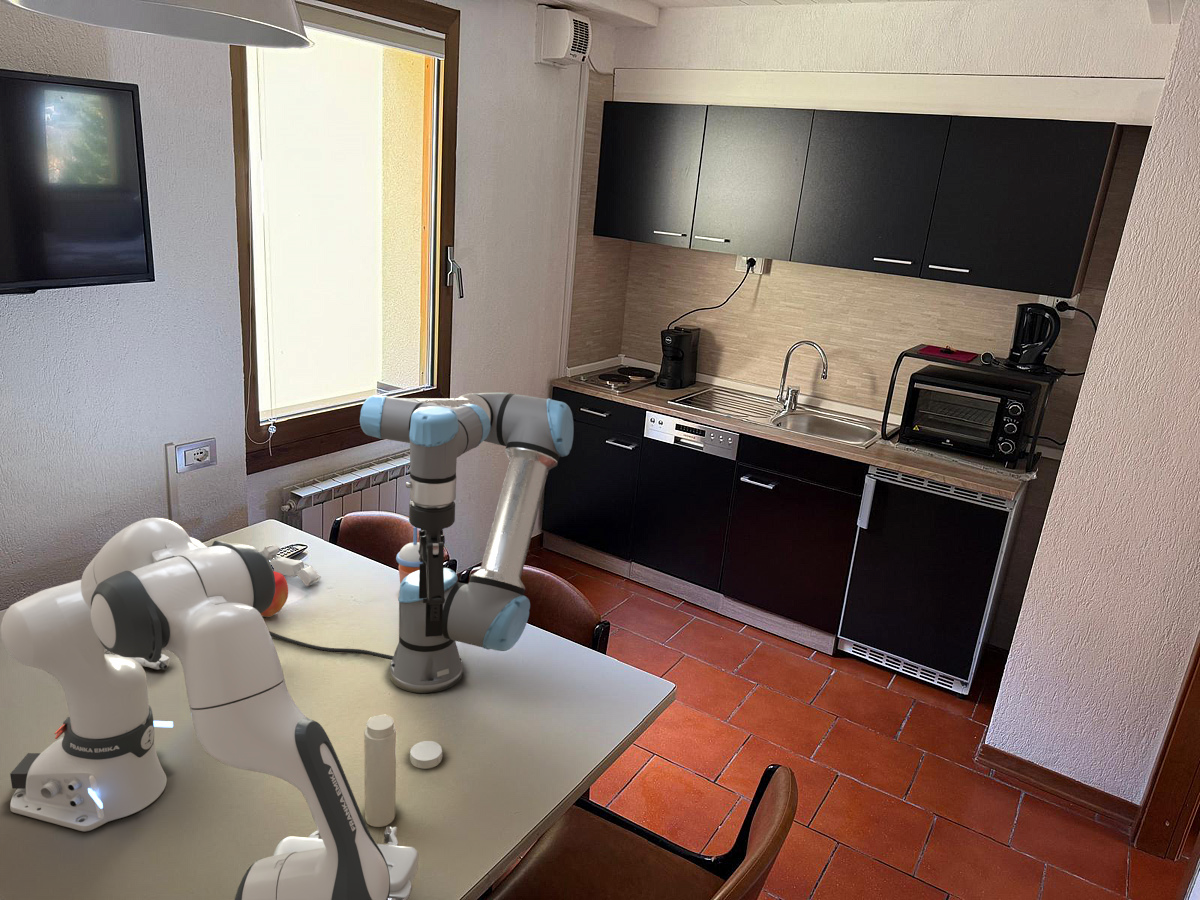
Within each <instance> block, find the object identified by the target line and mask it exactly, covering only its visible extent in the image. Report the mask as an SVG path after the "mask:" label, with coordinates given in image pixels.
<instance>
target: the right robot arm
mask: <svg viewBox="0 0 1200 900" xmlns="http://www.w3.org/2000/svg"><path fill="white" fill-rule="evenodd" d="M359 424H360V428H361V430H362V432H363V433H364V434H365V435H367V436H369V437H373V438H378V439H379V440H382V439H383V440H388V441H395V442H401V443H406V444H407V443H408V444H409V481H407V482H406V483H405V487H406V488H407V489H409V500H410V501H409V503H408V504H409V505H408V521H409V523H410V525H411V526H413V528H414V527H416V528H417V529H418V539H419V543H420V544H419V550H418V553H419V555H420V558H419V560H420V562H423V564H420V566H419V570H418V571H415V572H413V573H410V574H409V575H407V576H406V577H405V578H404V579H403V580H402V582H401V584H400V583H399V584H400V585H399V594H398V598H397V600H398V643H397V645H396V648H395V651H394V653H393V655H390V654H385V653H382V652H381V653H380V652H377V651H372V650H366V649H360V648H339V647H336V648H335V647H327V646H320V645H315V644H310V643H307V642H302V641H299V640H296V639H292V638H289V637H287V636H283V635H280V634H278V633H275V632H272V631H270V630H269V633H270V635H271V637H272V638H274V639H276V640H279V641H283V642H286V643H289V644H292V645H296V646H298V647H302V648H306V649H309V650H314V651H319V652H327V653H337V654H338V653H339V654H359V655H366V656H372V657H376V658H380V659H385V660H388V661H389V660H390V664H389V679H390V681H391V682H392V683H393V684H394V685H395V686H396V687H398V688H399V689H401V690H404V691H407V692H410V693H416V694H430V693H431V694H432V693H438V692H441V691H445V690H447V689H450V688H451V687H453V686H455V685H456V684H457V683H458V682H459V681H460V680H461V679H462V676H463V672H464V662H463V660H462V657H461V656H460V653H459V649H458V646H457V642H459V643H463V644H466V645H470V646H475V647H479V648H482V649H485V650H494V651H499V652H505V651H508V650H510V649H512V648H513V647H514V646H515V645H516V644H517V643H518V642H519V640H520V638H521V637H522V635H523V634H524V631H525V629H526V626H527V624H528V620H529V617H530V610H531V602H530V599H529V598H528V597H527V596H526V595H525V594H526V593H525V592H526V587H525V584H524V583H523V581H522V575H523V571H524V567H525V564H526V559H527V556H528V552H529V547H530V544H531V541H532V536H533V532H534V528H535V525H536V521H537V518H538V512H539V510H540V505H541V501H542V498H543V494H544V489H545V486H546V482H547V479H548V474H549V471H550V470H552V469H554V468H555V467H558V463H559V460H560V458H564V457H567V456H568V455H569V454H570V452H571V450H572V448H573V442H574V418H573V412H572V410H571V407H570V406H569V405H568V404H567V403H566V402H564V401H559V400H555V399H552V398H549V397H547V398H543V397H537V396H529V395H523V394H518V393H517V394H516V393H512V392H502V391H501V392H500V391H499V392H497V391H494V392H480V393H478V392H477V393H465V394H462V395H460V396H458V397H457V398H438V397H437V398H431V397H430V398H429V397H427V398H426V397H425V398H424V397H423V398H418V397H414V398H413V397H411V398H407V397H392V396H388V395H376V394H373V395H370V396H368V397H367V398H366V399H365V401H364V402H363V404H362V406H361V409H360V415H359ZM483 442H485V443H490V444H493V445H498V446H502V447H505V449H504V453H505V455H506V456H507V458H508V460H509V462H508V465H507V470H506V473H505V477H504V480H503V484H502V488H501V492H500V494H499V499H498V502H497V506H496V510H495V513H494V517H493V520H492V524H491V527H490V533H489V534H488V535H489V536H488V539H487V543H486V547H485V550H484V554H483V558H482V561H481V565H480V567H479V569H478V570H476V571H475V572H473V573H472V574H470V577H469V580H468V583H464V582H459V581H458V580H459V579H458V578H459V577H458V575H457V573H456V571H454V570H453V569H451V568H448V567H445V566H444V559H445V543H446V538H445V535H444V529H448V528H450V527H451V526H453V524H454V523H455V521H456V502H455V500H456V498H457V461H458V460H457V459H458V457H461V456H462V455H463V454H466V453H467V452H469V451H471V450H472V449H476V448H478V447H479V446H480V445H481V444H482V443H483Z"/></svg>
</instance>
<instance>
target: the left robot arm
mask: <svg viewBox="0 0 1200 900" xmlns="http://www.w3.org/2000/svg"><path fill="white" fill-rule="evenodd" d="M190 537H191V536H189V534H188V532H187V531H186V530H185V529H184V528H183V526H181V525H180V524H178V523H176V522H174V521H173V520H170V519H167V518H163V517H149V518H143V519H140V520H138V521H136V522H133V523H131V524H128V526H126V527H124V528H122V529H121V530H119V531H118V532H117V533H115V535H113V536H112V537H111V538H110V539H109V540H107V542H106V543H104V545H103V546H102V547H101V548H100V550H99V551H98V553H96V555H95V556H94V557H93V558H92V559H91V561H90V562H89V564H87V566H86V568H85V569H84V570H83V573H82V576H81V578H80V579H78V580H74V581H70V582H67V583H64V584H60V585H57V586H52V587H49V588H46V589H42V590H40V591H37V592H35V593H33V594H31V595H28V596H27V597H25V598H23V599H21V600H18V601H16V602H15V603H12V604H10V606H9V607H8V608H7V609H6V611H5V613H4V615H3V617H2V620H1V623H0V640H1V643H2V646H3V647H4V649H5V651H6V652H7V653H8V654H9V656H10V657H11V658H12V659H14V660H15V661H16V662H18V663H20V664H22V665H24V666H27V667H31V668H36V669H39V670H42V671H44V672H46V673H48V674H50V675H51V676H52V677H54V678H55V680H57V681H58V682H59V684H60V686H61V687H62V690H63V692H64V696H65V700H66V704H67V708H68V717H67V718H66V719H64V721H63V722H62V725H61V726H60V727H59V728H58V729H57V730H56V731H55V732H54V735H55V738H54V739H55V741H54V742H52V743H51V744H50V745H48V746H47V747H46V748H45V749H43V751H41V752H28V753H27V754H26V755H25V756H24V757H23V759H22V760H20V762H18V764H17V765H16V766H15V767H14V769H13V770H12V771H11V772H10V773H9V775H10V776H9V777H10V782H11V783H10V784H11V789H13V790H15V789H16V790H15V791H14V793H13V795H12V797H11V799H10V805H9V806H10V807H9V808H10V809H9V810H10V812H11V813H14V814H18V815H21V816H25V817H29V818H32V819H36V820H39V821H43V822H47V823H50V824H54V825H57V826H61V827H64V828H69V829H72V830H76V831H80V832H90V831H93V830H94V829H97V828H99V827H101V826H103V825H104V824H106V823H108V822H109V823H110V822H111V821H115V820H118V819H121V818H125V817H128V816H131V815H133V814H135V813H138V812H140V811H142V810H144V809H146V808H147V807H149V806H150V805H151V804H152V803H154V802H155V801H156V800H157V799H158V798H159V797H160V796H161V795H162V793H163V792H164V790H165V789H166V786H167V782H168V778H167V775H166V772H165V771H164V768H163V767H162V765H161V762H160V759H159V756H158V753H157V750H156V749H157V748H156V746H155V728H173V727H174V721H171V720H170V721H169V720H167V721H165V720H154V714H153V709H152V707H151V705H150V704H149V692H148V683H147V680H148V679H147V673H146V671H145V669H144V666H141V665H140V664H139V663H138V662H137V661H135V660H133V659H131V658H144V659H145V660H147V661H148V662H154V663H156V662H157V661H158V660H159V658H160V655H161V652H162V650H165V651H169V652H171V653H172V654H174V655H175V656H176V657H177V658H178V659H179V661H180V664H181V667H182V671H183V677H184V683H185V689H186V696H187V700H188V705H189V710H190V714H191V715H190V716H191V718H192V724H193V727H194V732H195V735H196V737H197V740H198V742H199V743H200V745H201V746H202V749H203V750H204V752H205V753H207V754H208V755H209V756H210V757H212V759H214V760H216V761H217V762H218V763H221V764H223V765H225V766H228V767H231V768H233V769H234V768H235V769H238V770H244V771H249V772H250V771H251V772H255V773H261V774H265V775H268V776H271V777H275V778H278V779H280V780H283V781H284V782H287V783H289V784H291V785H292V786H294V787H295V788H296V789H297V790H298V791H299V792H300V794H302V796H303V797H304V799H305V802H306V804H307V806H308V809H309V811H310V814H311V816H312V818H313V821H314V823H315V825H316V827H317V830H315V831H312V833H310V834H309V835H308V837H306V836H305V837H304V836H294V835H288V836H286V837H284V838H282V839H281V840H280V841H279V842H278V844H277V846H276V848H275V850H274V852H273V855H271V856H266V857H263V858H258V859H257V860H255V861H254V862H253V863H252V864H251V865H250V866H249V867H248V869H247V870H246V871H245V873H244V875H243V876H242V878H241V880H240V883H239V885H238V888H237V891H236V894H235V896H234V900H409V897H410V895H411V894H412V893H411V892H412V889H413V882H414V881H415V878H416V875H417V873H418V870H419V853H418V851H417V849H416V848H415V847H414V846H407V845H406V846H405V845H399V841H398V839H397V836H398V835H397V834H398V827H397V826H389V825H386V828H385V829H384V830H385V831H384V832H383V838H384V839H383V843H384V844H382V843H376V840H375V839H374V837H373V836H372V835H371V832H370V831H369V828H368V826H367V823H366V821H365V818H364V817H363V814H362V812H361V810H360V807H359V804H358V802H357V800H356V798H355V795H354V793H353V790H352V787H351V784H350V783H349V781H348V778H347V776H346V773H345V771H344V769H343V766H342V764H341V761H340V759H339V756H338V755H337V753H336V750H335V748H334V746H333V744H332V741H331V740H330V738H329V735H328V734H327V732H326V731H325V729H324V728H323V726H322V725H321V724H320V722H318V721H316V720H313V719H311V718H309V717H307V716H306V714H305V713H303V712H302V710H301V709H300V708H299V706H298V705H297V703H296V702H295V701H294V699H293V698H292V695H291V694H290V691H289V689H288V687H287V683H286V680H285V676H284V671H283V668H282V667H283V666H282V664H281V661H280V657H279V654H278V652H277V649H276V645H275V643H274V640H273V637H271V635H270V633H269V631H270V630H269V628H268V626H267V624H266V622H265V620H264V616H261V613H263V612H264V611H265V610H267V609H268V608H269V607H270V605H271V603H272V601H273V598H274V594H275V577H274V572H273V569H272V567H271V564H270V562H269V560H268V559H267V557H266V556H265V555H264V554H263V553H262V552H261V551H260V550H259V549H258V548H256V547H255V546H253V545H251V544H244V543H228V542H225V541H222V540H214V541H213V542H212V544H211V545H208V546H206V547H204V548H198V547H195V546H194V545H193V544H192V542H191V539H190ZM105 650H106V651H107V652H110V653H105ZM114 653H115V654H117V655H115V654H114ZM129 657H131V658H129ZM63 734H64V735H63Z"/></svg>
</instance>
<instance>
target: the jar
mask: <svg viewBox="0 0 1200 900" xmlns="http://www.w3.org/2000/svg"><path fill="white" fill-rule="evenodd" d="M365 726H366V727H365V729H364V731H363V732H364V733H363V735H364V736H363V737H364V738H363V739H364V744H363V745H364V747H363V748H364V821H365V823H366V825H369V826H371V827H374V828H381V827H385V826H386V827H387V826H389V825H390V824H391V823H392V822H393V821H394V820H395V818H396V785H397V784H396V783H397V782H396V780H397V779H396V777H397V775H396V772H397V771H396V769H397V768H396V767H397V765H396V764H397V762H396V761H397V728H396V726H395V721H394V718H393V717H391V716H390V715H387V714H376V715H373V716H371V717H370V718H368V720H367V721H366V723H365Z"/></svg>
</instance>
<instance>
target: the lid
mask: <svg viewBox="0 0 1200 900" xmlns="http://www.w3.org/2000/svg"><path fill="white" fill-rule="evenodd" d="M409 760H410V761H409V762H410V763H411V765H412V766H414V767H415V768H418V769H421V770H427V769H432V768H435V767H436V766H438V765H439V764H440V763H441V762H442V760H443V748H442V746H441V744H439V743H438V742H436V741H433V740H423V741H419V742H417V743H415V744H414V745H413V746H412V747H411V748H410V752H409Z"/></svg>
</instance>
